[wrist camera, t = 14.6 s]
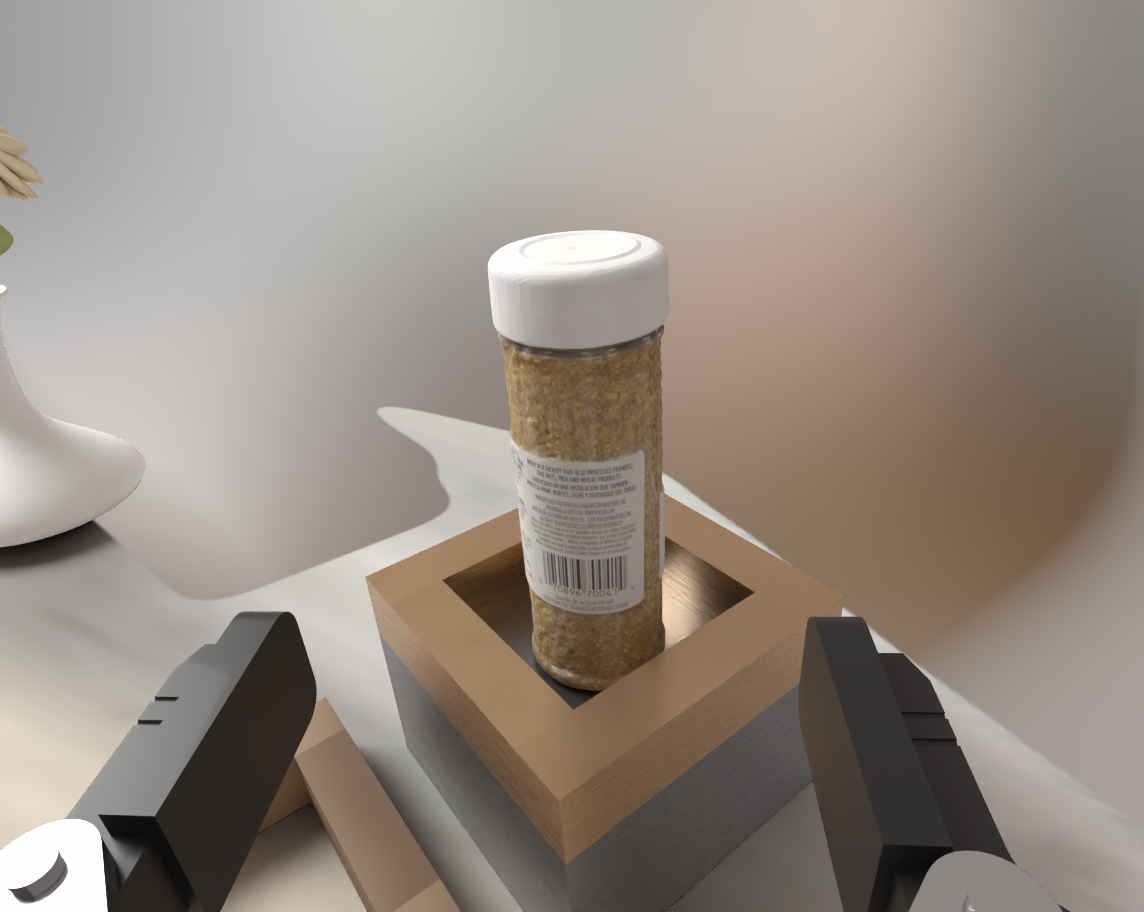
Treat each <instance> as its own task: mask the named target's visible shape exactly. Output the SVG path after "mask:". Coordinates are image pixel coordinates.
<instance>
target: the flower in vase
mask: <svg viewBox="0 0 1144 912" xmlns="http://www.w3.org/2000/svg"><path fill="white" fill-rule="evenodd" d="M27 153H28V149H27V148H26V146H25V145H24V144H23V143H22V142H21V141H19V140H18V139H16V138H13V137H11V136H9V134H8V132H7V131H6V130H5V128H4V127H2V126H1V125H0V194H2V195H4V196H6V197H8V198H11V199H12V198H14V197H13V196H15V197H16V198H18V199H21V200H23V201H27V200H28V198H27V197H29V198H32V199H38V196H37V195H36V193H35V192H34V191H33V190H32V189H31V188H30V187H28V185H27V184H34V183H37V184H43V180H42V178H41V177H40V176H39V175H38V171H37V169H36V168H35V167H34V166H33V165H32V164H31V163H29V162H27V161H26V160H24V159H21V158H20V157H18V156H16V155H25V154H27ZM25 183H27V184H25ZM26 196H27V197H26ZM12 243H13V236H12V235H11V233H10V232H9V231H7V230H6V229H5V228H4V227H3V226H1V225H0V255H2V254H3V253H5V252H6V251H7V250H8V249H9V248H10V247H11V245H12ZM6 294H7V287H6V286H3V285H0V547H7V546H14V545H19V544H24V543H28V542H33V541H37V540H40V539H44V538H47V537H51V536H54V535H57V534H60V533H63V532H65V531H68V530H71V529H73V528H76V527H78V526H80V525H82V524H84V523H87V522H89V521H91V520H93V519H95V518H96V517H98V516H100V515H102V514H104V513H105V512H107V511H109V510H110V509H112V508H113V507H115V506H116V505H118V504H119V503H120V502H122V501H123V500H124V499H125V498H127V497H128V496H129V495H130V494H131V493H132V492H133V491H134V490H135V489H136V487H137V486H138V484H139V483H140V481H141V478H142V475H143V472H144V469H145V459H144V457H143V455H142V454H141V453H140V452H139V451H138V450H137V449H136V448H135V447H134V446H133V445H132V444H130V443H129V442H127V441H124V440H122V439H120V438H117V437H115V436H112V435H110V434H108V433H104V432H100V431H97V430H93V429H90V428H86V427H82V426H78V425H74V424H70V423H66V422H63V421H59V420H56V419H53V418H50V417H48V416H46V415H44V414H42V413H40V412H39V411H38V410H37V409H35V408H34V407H33V406H32V405H31V403H30V402H29V401H28V399H27V398H26V396H25V395H24V393H23V391H22V389H21V387H20V385H19V384H18V382H17V379H16V377H15V375H14V372H13V370H12V367H11V365H10V362H9V359H8V355H7V352H6V349H5V346H4V341H3V336H2V330H1V311H2V306H3V302H4V299H5V296H6Z"/></svg>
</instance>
